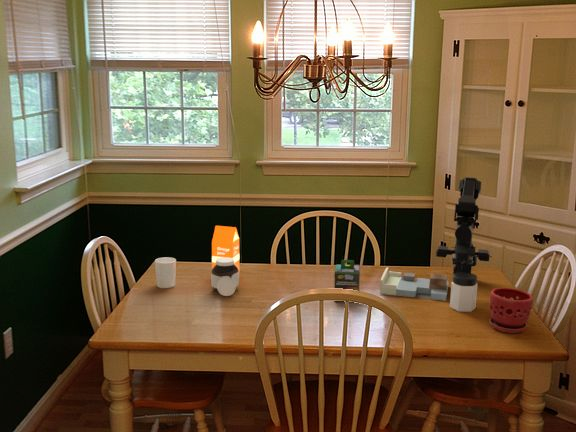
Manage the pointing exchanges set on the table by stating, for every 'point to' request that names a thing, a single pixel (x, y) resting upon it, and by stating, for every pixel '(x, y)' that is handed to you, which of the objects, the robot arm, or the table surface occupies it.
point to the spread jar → (225, 276)
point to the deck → (409, 287)
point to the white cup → (165, 272)
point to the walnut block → (438, 281)
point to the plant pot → (510, 309)
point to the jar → (463, 292)
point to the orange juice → (225, 244)
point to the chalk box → (347, 275)
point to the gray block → (409, 277)
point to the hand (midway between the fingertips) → (461, 275)
